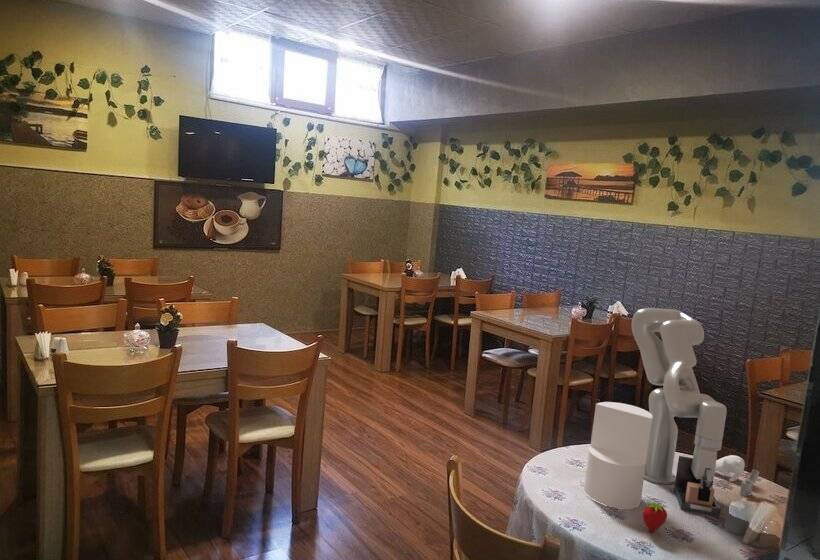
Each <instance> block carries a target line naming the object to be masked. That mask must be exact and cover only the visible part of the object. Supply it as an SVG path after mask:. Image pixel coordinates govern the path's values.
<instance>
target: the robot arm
mask: <svg viewBox="0 0 820 560" xmlns="http://www.w3.org/2000/svg"><path fill="white" fill-rule="evenodd" d="M631 333H632V335H633V338H634V340H635V342H636V344H637V347H638V349H639V352H640V356H641V361H642V363H643V368H644V371H645V375H646V378H647V380H648V382H649V383H650V384H652V385H653V386H654V385H655V386H663V387H659V388H655V389H653V390H652V391H651V392H650V393H649V396H648V409H649V411H648V412H649V413H650V414H652V416H653V419H652V426H651V433H650V440H649V447H648V454H647V461H646V468H645V475H644V480H646V481H649V482H651V483H655V484H661V485H672V484H675V480H676V475H675V474H674V473H673V467H674V461H675V455H676V454H675V453H676V449H677V448H676V447H677V441H678V435H679V434H678V433H679V429H678V424H677V423H676V422H675V419H674V418H675V417H677V418H697V422H696V426H695V433H694V434H695V435H694V440H693V444H694V445H695V446H694V451H693V456H692V458H693V459H692V464H691V469H692V472H693V479H692V483H698V484H700V487H699V491H698V497H697V499H698V500H699V501H705V502H709V498H710V492H711V482H712V481H713V482H714V480H715V479H714V478H715V473H716V471H715V467H716V460H717V458H718V457H717V456H718V451H721V449H722V445H723V438H724V431H725V425H726V418H727V406H726V405H724V404H723V403H721V402H718V401H716V400H715V399H714V398H713V397H711V396H710V395H708V394H705V393H701V392H700V388H699V384H698V381H697V379H696V375H695V373H694V369H693V367H695V366H696V365H697V362H698V361H697V357H696V353H695V351H694V348H693V346H697V345H701V344H702V343H703V342H704V339H705V331H704V328H703V326H702V324H700V322H699V321H698V320H696V319H695V318H693V317H691V316H690V315H688V314H687V313H685V312H683V311H681V310H678V309H674V308H673V309H672V308H659V307H658V308H657V307H646V308H645V307H644V308H640V309H638V310H637V311H635V313H634V314H633V316H632V320H631ZM655 333H659V335H660V337H659V336H657V334H655ZM660 338H661V339H660ZM704 477H705V478H704ZM713 479H714V480H713ZM704 481H706V482H704ZM703 482H704V484H703Z"/></svg>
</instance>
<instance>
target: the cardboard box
mask: <svg viewBox="0 0 820 560" xmlns="http://www.w3.org/2000/svg"><path fill="white" fill-rule="evenodd" d="M699 487H700V484H698V483H692V482H688V484H687V490H686V497H685V501H687V502H692V503H697V504H702V505H708V506H712V504H713V497H715V489H714V487H713V486H711V492H710V498H709V502H705V501H699V500H698V499H697V497H698V491H699Z"/></svg>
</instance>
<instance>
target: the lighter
mask: <svg viewBox="0 0 820 560" xmlns="http://www.w3.org/2000/svg"><path fill="white" fill-rule="evenodd" d="M759 475H760V471H758V470H757V469H752V471H751V473H750V475H749V478H745V479H744V481H742V482H741V485H740V491H739V495H740V496H742V497H745V496H746V497H748V496H747V495H749V494H751V495H752V491H753V486H754V484H756V482H757V480H758V477H759ZM749 496H750V495H749Z"/></svg>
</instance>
